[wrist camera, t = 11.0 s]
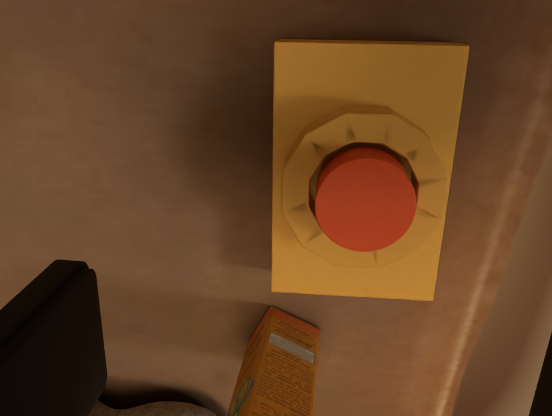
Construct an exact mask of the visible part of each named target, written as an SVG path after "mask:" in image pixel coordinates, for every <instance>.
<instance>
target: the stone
mask: <svg viewBox="0 0 552 416" xmlns="http://www.w3.org/2000/svg"><path fill="white" fill-rule="evenodd" d="M88 416H217V415H216V414H215V413H214V412H212V411H211V410H209V409H207V408H204V407H201V406H198V405H195V404H191V403H185V402H173V401H165V402H153V403H147V404H144V405H141V406H137V407H133V408H129V409H122V410H119V409H113V408H111V407H108V406H106V405H105V404H103V403H101V402H100V401H99V400H97V402H96V404H95V405H94V407H93V409H92V410H91V412H90V414H89V415H88Z"/></svg>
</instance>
